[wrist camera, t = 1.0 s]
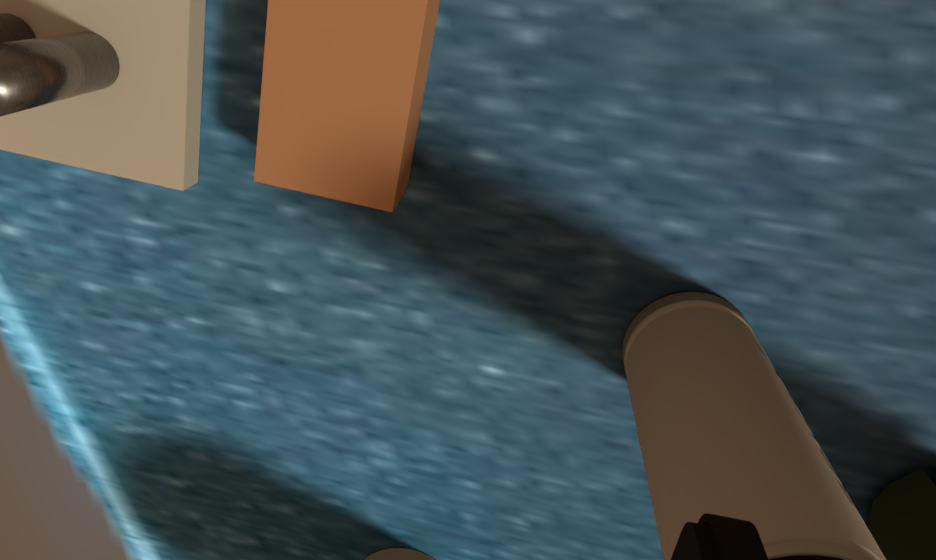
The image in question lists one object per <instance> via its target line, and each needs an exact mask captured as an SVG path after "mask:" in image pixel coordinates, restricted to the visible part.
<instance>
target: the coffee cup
mask: <svg viewBox="0 0 936 560" xmlns="http://www.w3.org/2000/svg"><path fill="white" fill-rule="evenodd" d="M364 560H435V559H433V558H432V557H430V556H428V555H426V554H424V553H422V552H419V551H415V550H411V549H404V548H390V549H385V550H380V551H378V552H375V553H373V554H371V555H370V556H368V557H367V558H365V559H364Z"/></svg>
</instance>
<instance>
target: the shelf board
mask: <svg viewBox="0 0 936 560" xmlns="http://www.w3.org/2000/svg"><path fill="white" fill-rule="evenodd" d="M439 3H440V0H268V10H267V23H266V35H265V48H264V61H263V74H262V86H261V99H260V112H259V125H258V137H257V150H256V163H255V176H254V181H256V182H260V183H265V184H269V185H273V186H278V187H282V188H287V189H291V190H295V191H300V192H304V193H309V194H313V195H318V196H322V197H326V198H331V199H335V200H340V201H344V202H348V203H353V204H357V205H362V206H366V207H371V208H375V209H379V210H384V211H388V212H393V211H394V209H395V207H396V206H397V204H398V203H399V201H400V199H401V198H402V196H403V194H404V193H405V191H406V190H407V187H408V182H409V176H410V170H411V164H412V159H413V153H414V147H415V141H416V136H417V130H418V124H419V118H420V113H421V107H422V101H423V95H424V90H425V84H426V78H427V72H428V67H429V61H430V55H431V49H432V44H433V38H434V32H435V26H436V21H437V15H438V9H439Z"/></svg>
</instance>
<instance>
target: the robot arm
mask: <svg viewBox="0 0 936 560" xmlns="http://www.w3.org/2000/svg"><path fill="white" fill-rule="evenodd" d="M671 560H768V557H767V554H766V551H765V549H764V546H763V543H762V541H761V538H760V535H759V533H758V530H757V529H756V527H755V525H754V524H753V523H752V522H750V521H745V520H740V519H735V518H730V517H725V516H720V515H715V514H709V513H705V514H703V515H702V516H701V517H700V519H699V521H698V523H693V522H687V523H686V524H685V525H684V527H683V529H682V531H681V533H680V536H679V539H678V541H677V544H676V547H675V549H674V552H673V554H672V557H671Z"/></svg>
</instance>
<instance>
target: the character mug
mask: <svg viewBox="0 0 936 560" xmlns="http://www.w3.org/2000/svg"><path fill="white" fill-rule="evenodd" d="M868 528H869V531H870V533H871V534H872V536H873V538H874V540H875V541H876V543H877V545H878V546H879V548H880V550H881V552H882V553H883V555H884V557H885V558H886V560H936V486H935V484H934V483H933V482H932V480H931V479H930V478H929V476H928V475H927V474H926V472H925V471H915V472H913V473H911V474H909V475H907V476H905V477H902V478H900V479H898V480H896V481H894V482H891V483H890V484H889V485H888V486H887V487H886V488H885V489H884V490H883V491H882V493H881V494H880V495H879V496H878V497H877V498H876V499H875V500H874V501H873V503H872V508H871V513H870V518H869V523H868Z"/></svg>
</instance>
